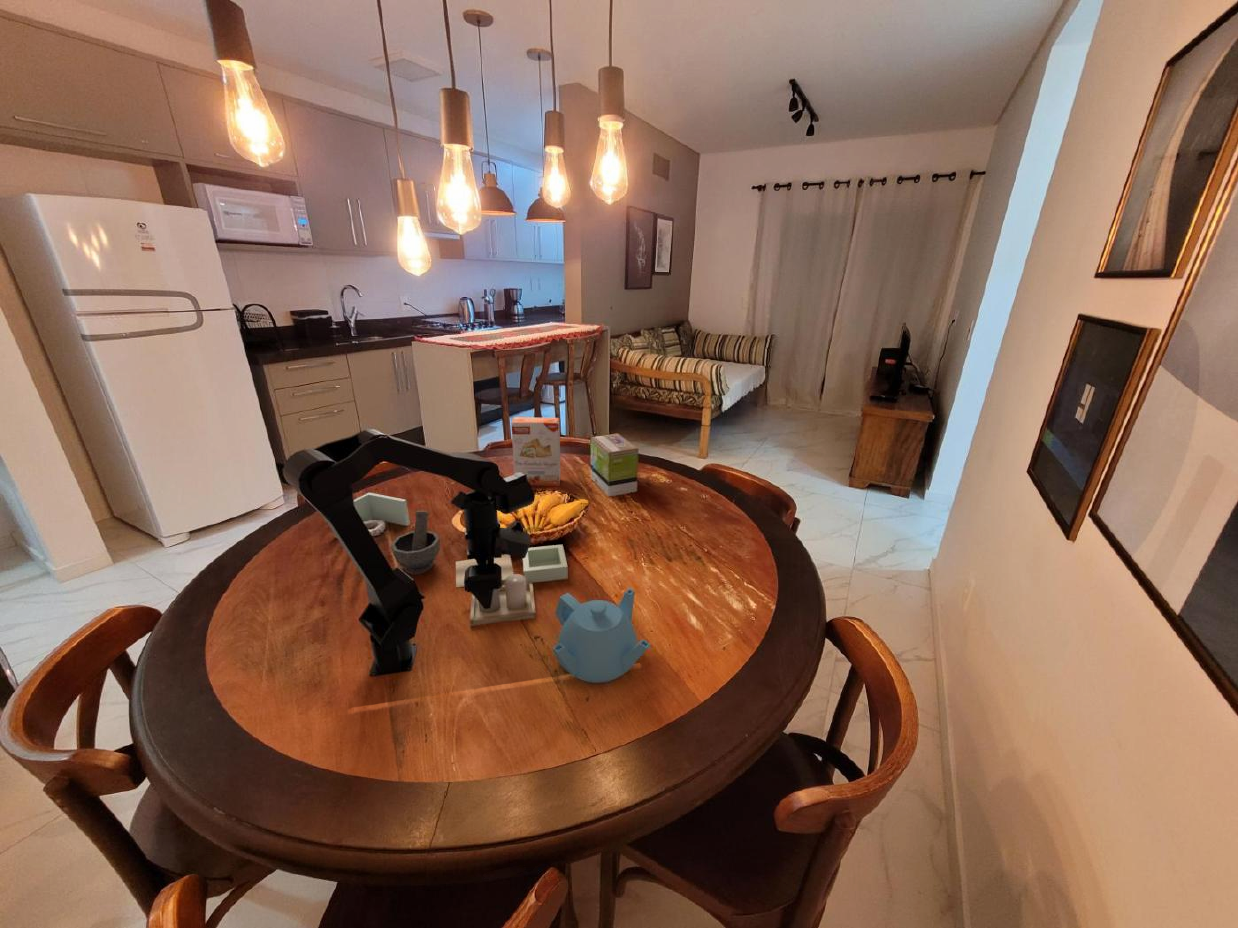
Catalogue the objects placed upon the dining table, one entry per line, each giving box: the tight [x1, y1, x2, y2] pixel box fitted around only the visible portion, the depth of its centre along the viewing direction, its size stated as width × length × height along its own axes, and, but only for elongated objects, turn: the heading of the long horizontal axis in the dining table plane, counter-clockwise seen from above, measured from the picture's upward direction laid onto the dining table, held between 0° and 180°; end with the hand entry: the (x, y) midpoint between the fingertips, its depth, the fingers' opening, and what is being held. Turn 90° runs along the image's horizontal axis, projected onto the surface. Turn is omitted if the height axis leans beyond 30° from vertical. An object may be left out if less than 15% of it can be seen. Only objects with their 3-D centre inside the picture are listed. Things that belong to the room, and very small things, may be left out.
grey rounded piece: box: [479, 589, 500, 613], centre depth 93 cm, size 4×4×6 cm
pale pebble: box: [504, 573, 527, 610], centre depth 94 cm, size 4×4×6 cm
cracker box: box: [511, 416, 561, 487], centre depth 148 cm, size 14×6×21 cm, turn 93°
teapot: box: [552, 588, 651, 684], centre depth 81 cm, size 15×15×11 cm
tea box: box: [590, 433, 639, 497], centre depth 148 cm, size 15×10×15 cm, turn 25°
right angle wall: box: [334, 492, 411, 539], centre depth 120 cm, size 12×12×8 cm
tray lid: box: [455, 554, 515, 589], centre depth 105 cm, size 10×12×2 cm
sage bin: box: [522, 544, 569, 584], centre depth 106 cm, size 9×9×4 cm
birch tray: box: [469, 582, 537, 627], centre depth 95 cm, size 10×12×2 cm
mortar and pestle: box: [390, 510, 441, 575], centre depth 105 cm, size 11×9×12 cm
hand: (488, 593), depth 93 cm, fingers open, 9 cm apart
